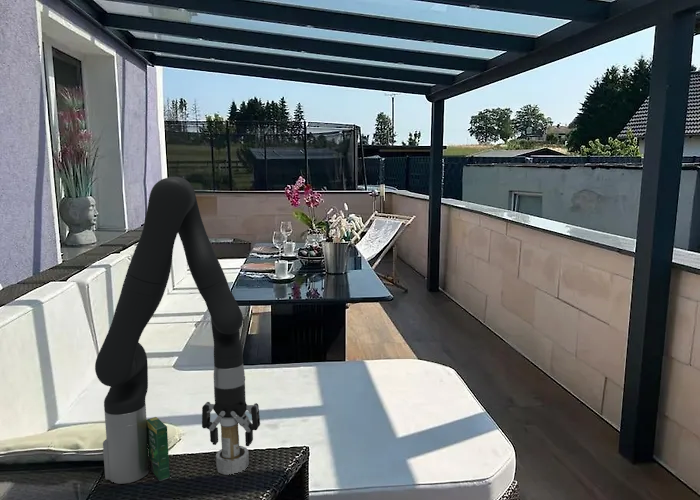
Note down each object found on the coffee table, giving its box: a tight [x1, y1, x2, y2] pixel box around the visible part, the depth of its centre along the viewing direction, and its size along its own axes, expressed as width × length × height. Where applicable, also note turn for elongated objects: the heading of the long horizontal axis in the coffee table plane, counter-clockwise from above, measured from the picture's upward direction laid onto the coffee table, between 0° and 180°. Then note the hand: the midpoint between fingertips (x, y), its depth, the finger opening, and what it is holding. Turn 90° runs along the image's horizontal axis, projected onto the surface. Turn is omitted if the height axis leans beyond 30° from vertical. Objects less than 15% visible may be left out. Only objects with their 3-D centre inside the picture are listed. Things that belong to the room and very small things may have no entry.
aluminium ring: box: [215, 445, 250, 476], centre depth 130 cm, size 8×8×4 cm
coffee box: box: [146, 416, 171, 482], centre depth 127 cm, size 8×3×13 cm, turn 38°
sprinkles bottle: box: [219, 417, 240, 460], centre depth 129 cm, size 5×5×13 cm
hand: (231, 444), depth 130 cm, fingers open, 8 cm apart
